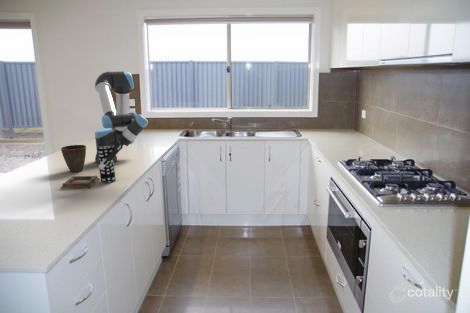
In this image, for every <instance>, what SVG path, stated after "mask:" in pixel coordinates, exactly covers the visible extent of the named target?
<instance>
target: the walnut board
mask: <svg viewBox="0 0 470 313" xmlns="http://www.w3.org/2000/svg"><path fill="white" fill-rule="evenodd" d="M99 181H101V179H100V177H98V175H76V176H75V175H74V176H71V177H70V178H69V179H67V180H66V181H65V182H63V183H62V186H60V190H85V189H91V188H93V187H94V186H95V185H96V184H97V183H98V182H99Z"/></svg>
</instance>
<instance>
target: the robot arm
mask: <svg viewBox="0 0 470 313" xmlns="http://www.w3.org/2000/svg"><path fill="white" fill-rule="evenodd" d="M94 88H95V91H96V93H98V97H99V99H100V104H101V109H102V112H103V115H102V117H101V123H102V127H103V128H101V129H98V130H96V131H95V132H94V135H95V136H94V138H95V148H96V149H97V148H98V147H102V146H112V149H113V151H112V152H111V153H110V154H109V156H108V157H105V158H106V159H105V160H104V161H103V162H102V163H101V164H100V165H99V161H98V151H97V150H96V153H95V157H94V163H96V164H98V166H97V167H98V168H100V169H103V168H104V167H105V166H106V165H107V164H108V163H109V162H110V161H111V160H112V159H114V163H115V162H118V156H117V155H118V153H119V152H120V151H121V150H122V149H123V147H124V146H126V147H129V145H132V144H134V142H135V140H136V139H137V137H138V136H139V134H140V133H142V131H143V130H144V129H145V128H146V127H147V126H148V124H149V121H148V119H147V118H146V117H145V116H143V115H142V114H138V113H137V112H135V111H130V94H131V93H132V90H134V88H135V84H134V79H133V76H132V73H131V72H130V71H124V70H123V71H104V72H103V73H100V74H99V75H98V77H97V78H96V80H95V83H94ZM112 91H113V92H114V94H115V98H116V99H115V100H116V105H115V101H114V99H113V95H112ZM110 158H111V159H110Z"/></svg>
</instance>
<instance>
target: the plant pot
mask: <svg viewBox="0 0 470 313" xmlns="http://www.w3.org/2000/svg"><path fill="white" fill-rule="evenodd" d="M60 150H61V154H62V157H63V159H64V162H65V164H66V165H67V166H66V167H67V168H68V170H69V172H71V173H79V172H82V171H83V170H84V166H85V162H86V154H87V146H86V145H85V144H72V145H71V144H70V145H65V146H62V147H60Z"/></svg>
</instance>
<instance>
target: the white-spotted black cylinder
mask: <svg viewBox="0 0 470 313" xmlns="http://www.w3.org/2000/svg"><path fill="white" fill-rule="evenodd" d="M97 151H98V161H99V163H98V166H99V165H100V164H101V163H102V162H103V161H104V160H105V159H106V158H105V157H108V156H109V154H110V153H111V152H112V151H113V149H112V146H102V147H98V148H96V152H97ZM110 159H111V158H110ZM98 168H99V167H98ZM99 178H100V182H101V183H112V182H115V181H116V170H115V162H114V159H112V160H111V161H110V162H109V163H108V164H107V165H106V166H105V167H104V168H103V169H100V168H99Z"/></svg>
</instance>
